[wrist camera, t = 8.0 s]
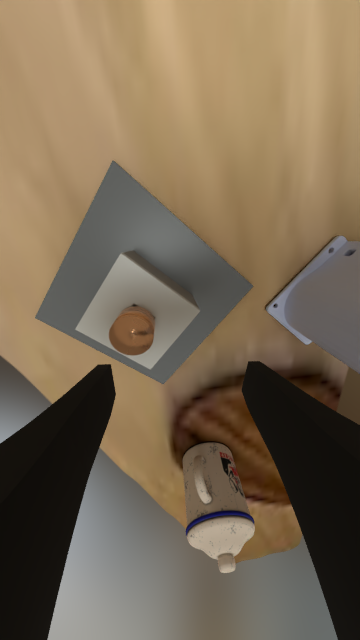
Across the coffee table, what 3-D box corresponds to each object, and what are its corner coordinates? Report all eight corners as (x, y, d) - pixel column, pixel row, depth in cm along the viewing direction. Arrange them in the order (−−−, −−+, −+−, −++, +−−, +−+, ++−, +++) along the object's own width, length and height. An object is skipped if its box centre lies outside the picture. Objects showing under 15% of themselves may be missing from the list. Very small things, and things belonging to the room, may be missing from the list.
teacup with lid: (237, 461, 32) (273, 571, 21) (191, 475, 33) (203, 587, 22) (218, 423, 27) (252, 540, 16) (165, 440, 28) (164, 562, 17)
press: (114, 162, 13) (86, 120, 9) (251, 285, 18) (280, 299, 14) (37, 316, 18) (-7, 341, 13) (163, 381, 23) (162, 416, 18)
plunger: (134, 268, 15) (115, 282, 10) (179, 301, 16) (185, 329, 11) (106, 311, 16) (76, 345, 11) (150, 338, 18) (143, 379, 12)
